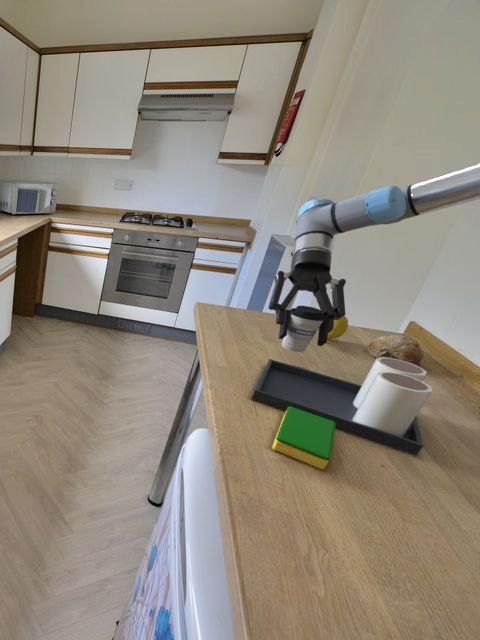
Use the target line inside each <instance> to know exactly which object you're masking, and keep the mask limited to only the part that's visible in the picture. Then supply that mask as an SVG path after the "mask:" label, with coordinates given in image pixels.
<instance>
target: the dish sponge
mask: <svg viewBox="0 0 480 640" xmlns="http://www.w3.org/2000/svg"><path fill="white" fill-rule="evenodd" d="M335 426H336V423H335V422H334V421H331V420H328V419H325V418H322V417H319V416H316V415H313V414H311V413H308V412H305V411H302V410H299V409H296V408H293V407H288V408H287V411H285V413H284V414H283V418H282V420H281V422H280V426H279V428H278V431H277V433H276V436H275V438H274V440H273V443H272V446H271V449H273V450H274V451H276V452H279V453H281V454H283V455H286V456H289V457H291V458H294V459H296V460H298V461H301V462H303V463H306V464H308V465H311V466H314V467H316V468H318V469H320V470H325V469H326V468H327V465H328V464H329V461H330V460H331V455H332V449H333V444H334V438H335V432H336V428H335Z"/></svg>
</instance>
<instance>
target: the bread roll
mask: <svg viewBox="0 0 480 640" xmlns="http://www.w3.org/2000/svg"><path fill="white" fill-rule="evenodd" d="M366 349H367V352H368V353H369V354H370V355H371V356H372V357H374V358H375V359H377V358H379V357H386V358H393V359H398V360H402V361H406V362H409V363H411V364H414V365H416V366H418V365H419V364H421V362H422V361H423V359H424V357H425V352H424V349H423V347H421V346H420V344H419V343H418V342H417V341H416V340H414V339H413V338H412V337H410V336H407V335H403V334H392V335H383V336H377V337H376V338H374V339H372V340H371V342H370V343H369V344H368V346H367V348H366Z"/></svg>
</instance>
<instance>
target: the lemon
mask: <svg viewBox="0 0 480 640" xmlns="http://www.w3.org/2000/svg"><path fill="white" fill-rule="evenodd" d="M348 327H349V319H348V318H347V317H346V315H345V316H343V317H342V318H341V319H340V320H334V326H333V330H332V331H331V332H330V333H328V339H327V341H328V340H332V339H338V338H340V337H342V336H343V335H344V334H345V333H346V331H347V329H348Z"/></svg>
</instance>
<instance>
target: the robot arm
mask: <svg viewBox="0 0 480 640" xmlns="http://www.w3.org/2000/svg"><path fill="white" fill-rule="evenodd" d="M477 200H480V162H478V163H475V164H472V165H469V166H466V167H463V168H459V169H457V170H454V171H450V172H447V173H444V174H441V175H437V176H435V177H431V178H429V179H428V178H427V179H425V180H421V181H419V182H416V183H413V184H410V185H406V186H403V187H399V186H398V185H389V186H385V187H382V188H377V189H373V190H371V191H369V192H365V193H363V194H360V195H357V196H354V197H351V198H348V199H345V200H342V201H338V202H335V201H333V200H331V199H329V198H321V199H311V200H309V201H307V202H305V203H304V204H303V205H301V207H300V208H299V210H298V214H297V218H296V221H295V226H296V227H295V235H294V236H295V237H294V243H293V248H292V258H291V264H290V271H289V272H284V271H283V270H279V271H278V272H277V273H276V274H275V275H274V287H273V290H272V294H271V296H270V301H269V304H268V310H270V311H275V315H276V317H275V323H276V324H275V325H279V330H278V331H279V332H278V339H279V340H283V338H284V337H285V336H286V335H287V330H288V322H289V314H290V310H291V309H287V308H288V306H289V305H290V303H292V301H293V299H294V298H295V296H296V295H297V294H298V292H299V291H301V292H303V291H304V292H305V291H306V292H309V293H312V295H313V297H315V300H316V302H317V305H318V308H319V310H321V311H322V314H323V315H325V318H326V319H325V320H324V321H323V322H322V324H321V325H320V327H319V328H318V335H317V344H316V345H317V346H318V347H323V346H324V345H325V344H326V343H328V333H330V332H331V331H332V330H333V326H334V320H340V319H341V318H342V317H343V316H345V317H346V304H345V290H344V287H345V285H346V283H347V280H346V279H345V278H340V279H336V278H333V277H332V276H333V275H331V266H332V255H333V246H334V245H333V244H334V237H335V235H336V236H337V235H339V234H344V233H347V232H351V231H354V230H359V229H362V228H367V227H373V226H379V225H391V224H396V223H399V222H402V221H404V220H407V219H411V218H414V217H418V216H421V215H425V214H429V213H432V212H435V211H439V210H444V209H447V208H451V207H454V206H459V205H462V204H467V203H469V202H473V201H477ZM287 280H289V281H290V283H291V284H292V287H291V289H290V290H289V292H288V293H287V295H286V296H285V297H284V299H283V301H282V302H281V304H280V303H279V302H280V299H281V294H282V291H283V288H284V285H285V282H286V281H287ZM328 284H329V285H330V289H331V299H330V297H329V294H328V292H327V290H328V288H327V285H328ZM331 300H332V301H331Z"/></svg>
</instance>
